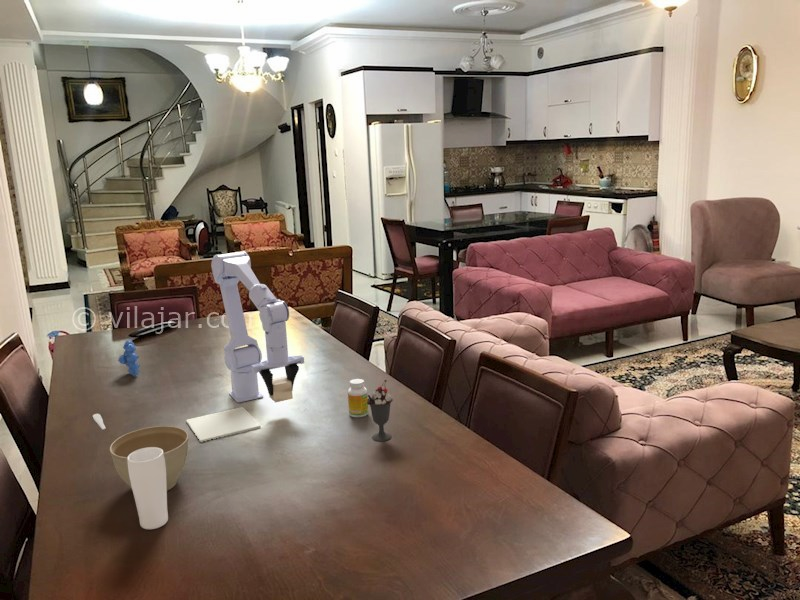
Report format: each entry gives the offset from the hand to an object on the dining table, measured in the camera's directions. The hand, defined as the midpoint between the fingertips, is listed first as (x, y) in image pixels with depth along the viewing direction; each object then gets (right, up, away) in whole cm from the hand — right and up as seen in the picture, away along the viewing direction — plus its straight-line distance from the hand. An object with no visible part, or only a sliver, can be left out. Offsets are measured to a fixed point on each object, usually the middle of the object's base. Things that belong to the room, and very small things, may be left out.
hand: (280, 392), depth 179 cm
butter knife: (-47, -10, -4) cm, 48 cm away
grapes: (-59, 0, +40) cm, 71 cm away
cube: (0, -2, 0) cm, 2 cm away
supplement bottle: (+22, -6, 0) cm, 23 cm away
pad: (-15, -8, -4) cm, 18 cm away
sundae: (+29, -10, -15) cm, 34 cm away
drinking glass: (-16, -19, -51) cm, 56 cm away
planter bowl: (-21, -16, -36) cm, 44 cm away
